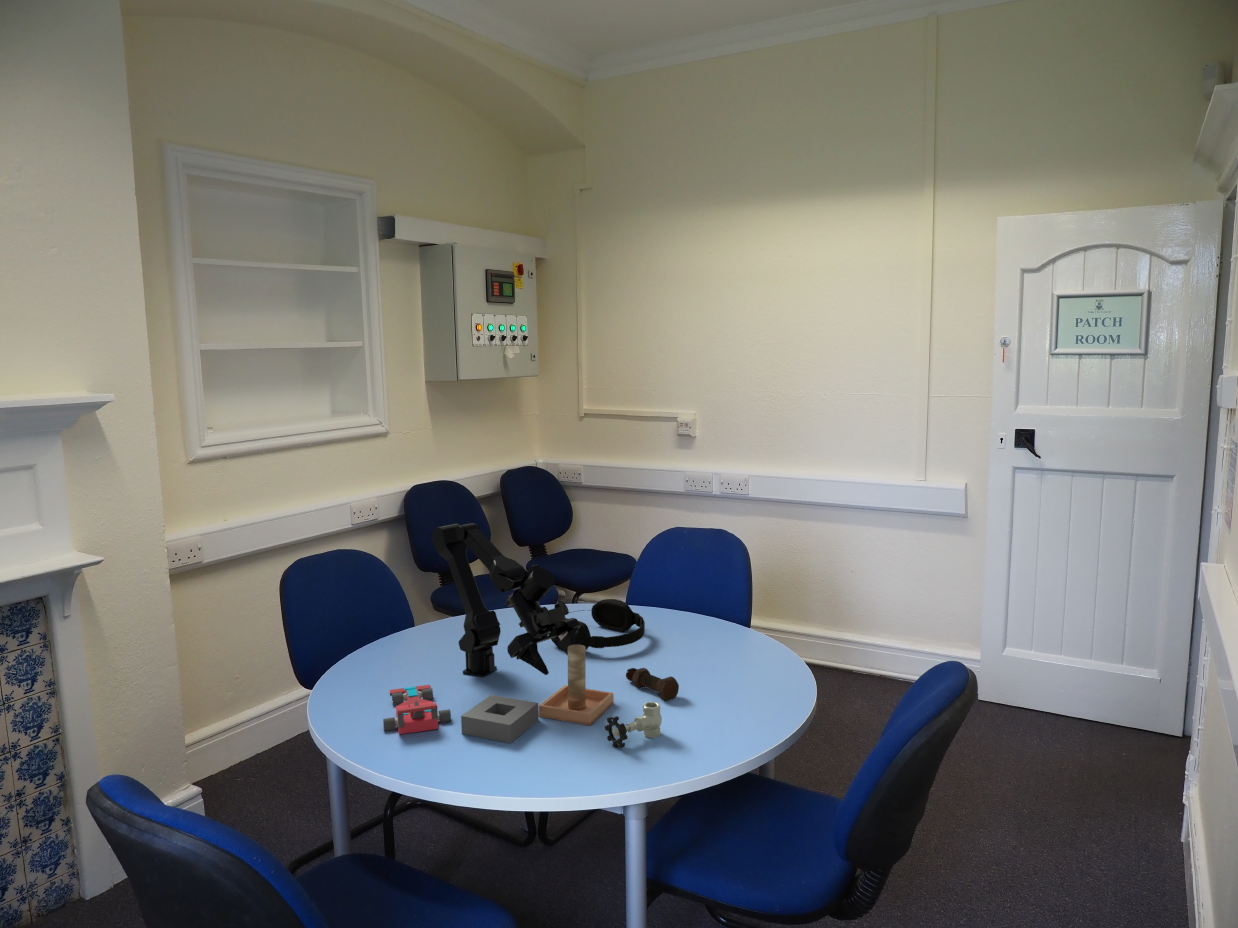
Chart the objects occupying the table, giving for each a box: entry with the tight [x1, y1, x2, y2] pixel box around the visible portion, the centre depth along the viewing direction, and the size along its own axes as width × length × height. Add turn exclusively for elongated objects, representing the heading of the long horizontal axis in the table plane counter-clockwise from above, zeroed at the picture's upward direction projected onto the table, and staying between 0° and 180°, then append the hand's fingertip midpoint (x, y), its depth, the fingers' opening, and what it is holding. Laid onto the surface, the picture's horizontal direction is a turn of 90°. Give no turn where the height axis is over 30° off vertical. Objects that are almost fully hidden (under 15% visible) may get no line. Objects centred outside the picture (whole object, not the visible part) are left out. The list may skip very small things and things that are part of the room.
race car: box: [382, 684, 452, 735], centre depth 191 cm, size 14×6×25 cm
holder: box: [460, 694, 539, 744], centre depth 181 cm, size 12×12×4 cm
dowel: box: [567, 645, 587, 711], centre depth 189 cm, size 4×4×14 cm
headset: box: [550, 598, 646, 652], centre depth 237 cm, size 28×26×9 cm
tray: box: [538, 684, 615, 726], centre depth 190 cm, size 13×13×2 cm
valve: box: [604, 701, 663, 749], centre depth 174 cm, size 7×7×12 cm
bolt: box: [625, 667, 680, 702], centre depth 200 cm, size 6×5×15 cm
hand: (562, 668), depth 192 cm, fingers open, 9 cm apart
